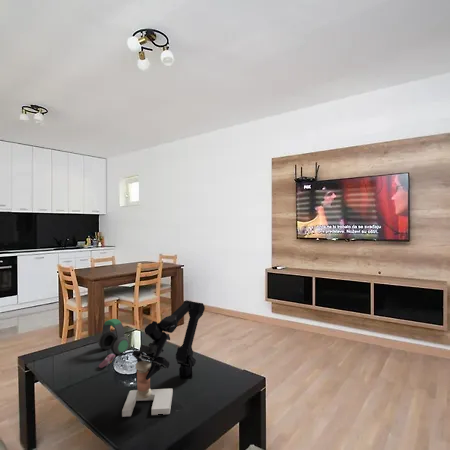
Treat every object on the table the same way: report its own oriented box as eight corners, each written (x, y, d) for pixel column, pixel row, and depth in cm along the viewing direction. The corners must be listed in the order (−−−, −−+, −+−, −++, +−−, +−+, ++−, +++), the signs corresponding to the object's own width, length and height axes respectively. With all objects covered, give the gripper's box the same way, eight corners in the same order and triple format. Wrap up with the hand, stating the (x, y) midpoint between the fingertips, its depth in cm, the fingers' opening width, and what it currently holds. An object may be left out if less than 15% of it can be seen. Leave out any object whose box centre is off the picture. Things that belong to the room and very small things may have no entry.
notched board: (172, 393, 154) (172, 388, 154) (169, 414, 138) (169, 408, 138) (130, 395, 152) (130, 390, 152) (122, 416, 136) (122, 410, 136)
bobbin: (147, 388, 149) (146, 359, 148) (154, 394, 144) (153, 364, 143) (133, 393, 145) (133, 363, 144) (140, 400, 140) (139, 369, 139)
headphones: (96, 350, 203) (96, 319, 203) (111, 344, 212) (111, 315, 212) (115, 358, 192) (115, 325, 192) (130, 351, 201) (130, 320, 201)
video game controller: (104, 371, 179) (109, 361, 178) (97, 367, 180) (102, 356, 179) (113, 363, 189) (118, 353, 188) (107, 359, 190) (111, 349, 189)
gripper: (134, 332, 151) (116, 365, 142) (165, 340, 142) (147, 376, 133) (146, 343, 158) (130, 375, 149) (176, 351, 149) (160, 385, 140)
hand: (141, 377), depth 143 cm, fingers closed on bobbin, 6 cm apart
